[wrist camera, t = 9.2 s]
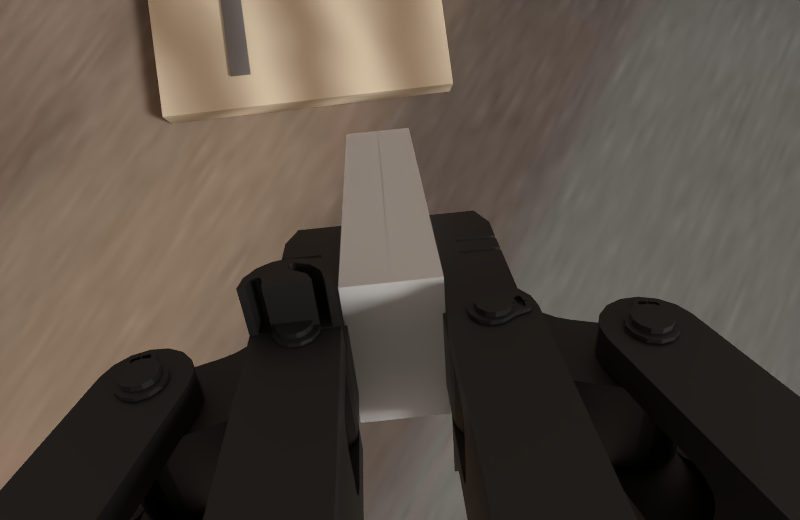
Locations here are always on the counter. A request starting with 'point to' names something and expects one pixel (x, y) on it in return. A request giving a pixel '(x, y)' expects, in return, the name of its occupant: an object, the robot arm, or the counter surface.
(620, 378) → the robot arm
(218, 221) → the counter surface
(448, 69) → the trammel board
